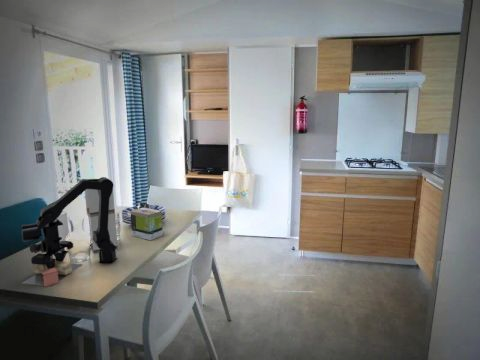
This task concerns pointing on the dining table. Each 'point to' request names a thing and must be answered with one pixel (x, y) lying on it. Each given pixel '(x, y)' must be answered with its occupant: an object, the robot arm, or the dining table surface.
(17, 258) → the dining table surface
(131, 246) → the dining table surface
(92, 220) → the tall white box
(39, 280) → the base plate
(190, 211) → the dining table surface
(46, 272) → the keeper
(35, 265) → the link
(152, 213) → the tea box
